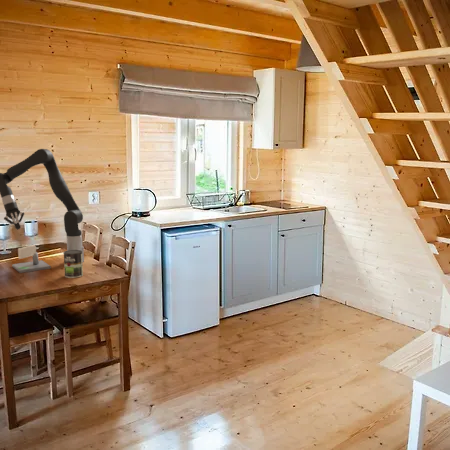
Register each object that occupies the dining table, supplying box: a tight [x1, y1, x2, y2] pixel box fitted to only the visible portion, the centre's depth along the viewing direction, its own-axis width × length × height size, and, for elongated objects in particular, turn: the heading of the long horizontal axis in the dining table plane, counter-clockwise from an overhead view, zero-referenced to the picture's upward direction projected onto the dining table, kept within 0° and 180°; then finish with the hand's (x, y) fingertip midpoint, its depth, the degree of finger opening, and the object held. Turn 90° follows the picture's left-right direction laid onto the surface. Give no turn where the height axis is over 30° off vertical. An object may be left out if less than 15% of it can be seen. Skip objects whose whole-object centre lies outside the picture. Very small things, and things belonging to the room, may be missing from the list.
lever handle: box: [17, 244, 39, 264], centre depth 308 cm, size 14×3×12 cm, turn 153°
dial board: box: [11, 259, 52, 274], centre depth 311 cm, size 18×18×2 cm
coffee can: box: [63, 250, 84, 279], centre depth 292 cm, size 10×10×14 cm
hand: (18, 229), depth 322 cm, fingers closed
